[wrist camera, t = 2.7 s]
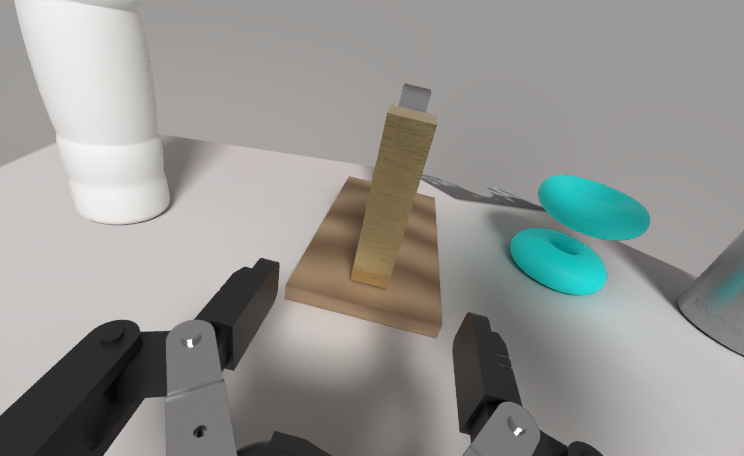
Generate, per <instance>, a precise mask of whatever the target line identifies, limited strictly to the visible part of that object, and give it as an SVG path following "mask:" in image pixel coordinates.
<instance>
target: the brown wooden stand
mask: <svg viewBox="0 0 744 456" xmlns="http://www.w3.org/2000/svg"><path fill="white" fill-rule="evenodd" d="M430 96H431V90H430V89H426V88H421V87H418V86H413V85H409V84H404V86H403V90H402V94H401V98H400V103H399V107H403V108H407V109H412V110H416V111H420V112H424V113H426V110H427V106H428V103H429V99H430ZM371 184H372V182H370V181H366V180H362V179H358V178H354V177H350V176H349V178H348V179H347V181H346V183H345V184H344V186H343V188H342V190H341V191H340V193H339V195H338V196H337V198H336V200H335V202H334V203H333V205H332V207H331V208H330V210H329V212H328V214H327V215H326V217H325V219H324V220H323V222H322V224H321V226H320V227H319V229H318V231H317V232H316V234H315V236H314V238H313V239H312V241H311V243H310V244H309V246H308V248H307V250H306V251H305V253H304V255H303V257H302V258H301V260H300V262H299V263H298V265H297V267H296V269H295V270H294V272H293V274H292V275H291V277H290V279H289V281H288V282H287V284H286V293H285V299H288V300H292V301H296V302H299V303H303V304H307V305H311V306H315V307H319V308H322V309H326V310H330V311H334V312H338V313H342V314H345V315H349V316H353V317H357V318H361V319H365V320H368V321H372V322H376V323H380V324H384V325H388V326H391V327H395V328H399V329H403V330H407V331H411V332H414V333H418V334H422V335H426V336H430V337H434V338H436V337H437V335H438V333H439V331H440V328H441V326H442V313H441V296H440V279H439V263H438V246H437V229H436V212H435V198H434V197H430V196H426V195H422V194H418V193H416V196H415V199H414V202H413V205H412V209H411V212H410V215H409V219H408V222H407V225H406V228H405V232H404V235H403V238H402V241H401V245H400V248H399V251H398V255H397V258H396V261H395V264H394V268H393V271H392V274H391V278H390V281H389V284H388V287H387V289H385V288H381V287H378V286H374V285H370V284H366V283H362V282H358V281H354V280H350V279H351V275H352V270H353V266H354V261H355V257H356V252H357V248H358V243H359V239H360V234H361V230H362V225H363V220H364V216H365V211H366V207H367V202H368V198H369V193H370V189H371Z"/></svg>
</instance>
